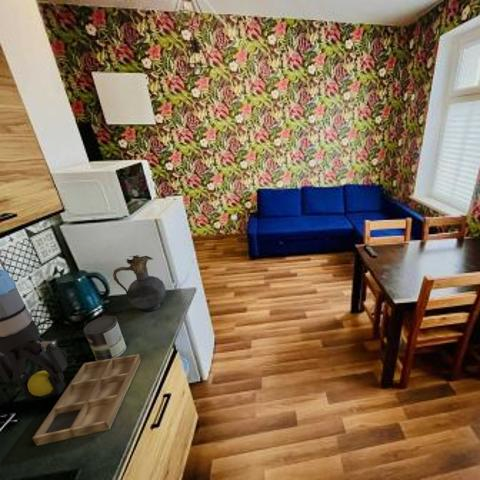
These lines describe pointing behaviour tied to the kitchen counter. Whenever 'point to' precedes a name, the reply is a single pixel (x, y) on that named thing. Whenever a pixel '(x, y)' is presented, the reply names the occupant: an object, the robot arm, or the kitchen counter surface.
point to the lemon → (40, 384)
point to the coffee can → (105, 338)
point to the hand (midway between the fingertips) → (48, 392)
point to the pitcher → (142, 285)
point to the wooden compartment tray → (89, 400)
